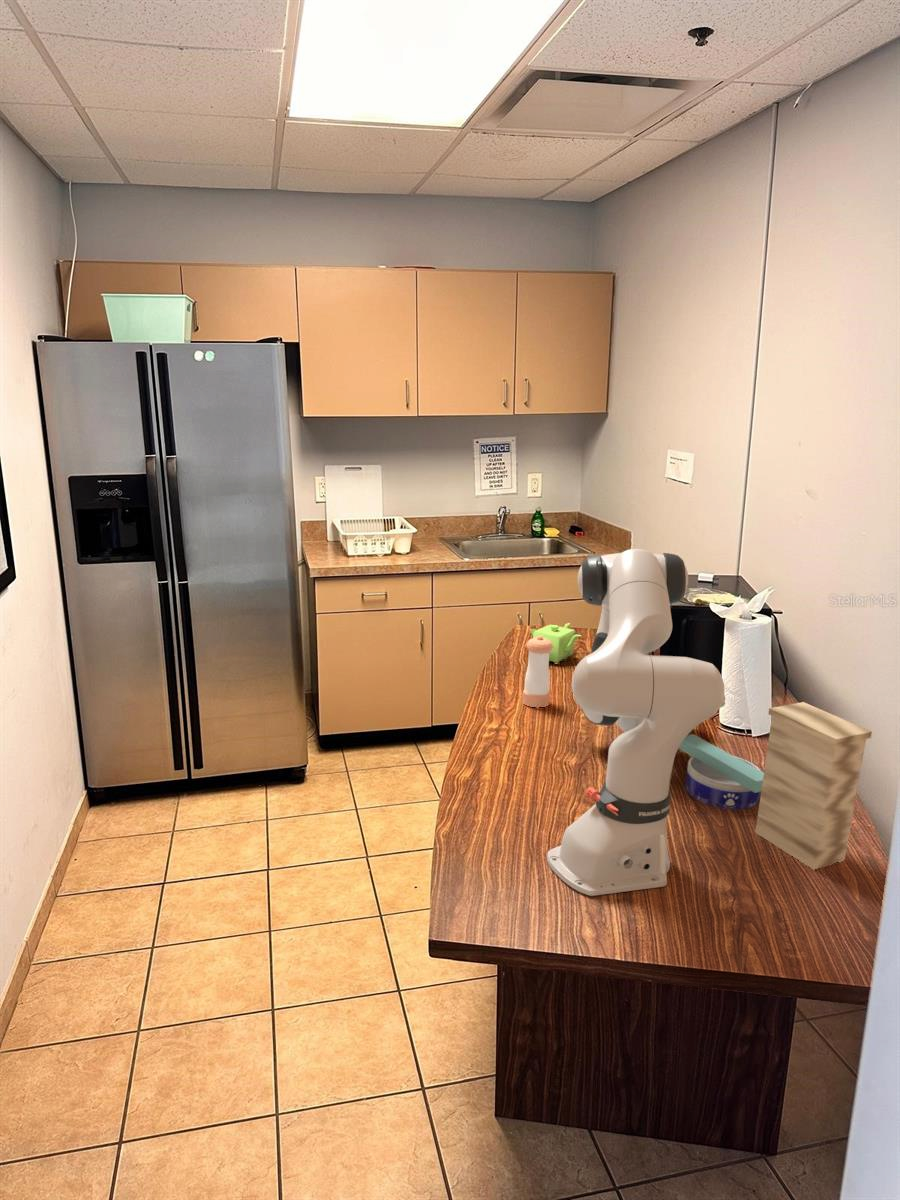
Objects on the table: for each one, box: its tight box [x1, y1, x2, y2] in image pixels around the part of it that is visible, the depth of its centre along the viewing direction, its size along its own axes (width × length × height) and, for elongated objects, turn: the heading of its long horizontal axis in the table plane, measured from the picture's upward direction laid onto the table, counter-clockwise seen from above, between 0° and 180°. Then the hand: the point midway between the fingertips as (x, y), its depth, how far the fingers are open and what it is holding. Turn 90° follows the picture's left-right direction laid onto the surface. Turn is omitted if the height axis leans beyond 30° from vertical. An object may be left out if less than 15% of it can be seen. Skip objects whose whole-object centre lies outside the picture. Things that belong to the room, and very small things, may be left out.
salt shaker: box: [522, 636, 553, 708], centre depth 220 cm, size 7×7×19 cm
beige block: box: [754, 701, 873, 871], centre depth 153 cm, size 9×15×26 cm, turn 26°
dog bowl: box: [685, 755, 762, 811], centre depth 175 cm, size 15×15×6 cm
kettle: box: [529, 622, 583, 664], centre depth 258 cm, size 15×14×11 cm
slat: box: [678, 733, 764, 793], centre depth 175 cm, size 4×23×2 cm, turn 26°
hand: (706, 699), depth 178 cm, fingers open, 8 cm apart
